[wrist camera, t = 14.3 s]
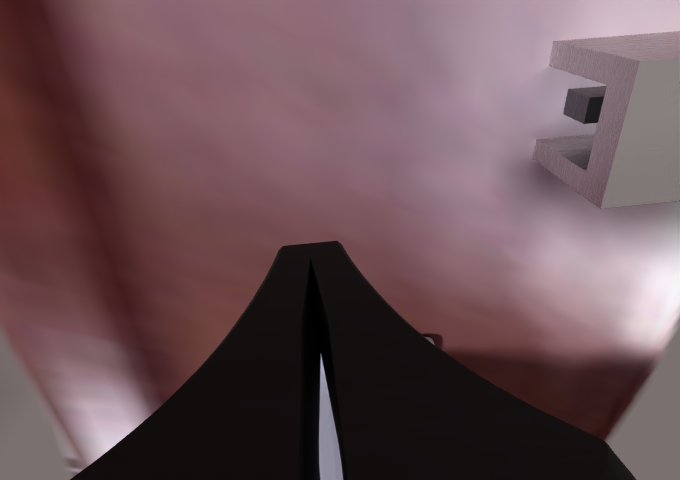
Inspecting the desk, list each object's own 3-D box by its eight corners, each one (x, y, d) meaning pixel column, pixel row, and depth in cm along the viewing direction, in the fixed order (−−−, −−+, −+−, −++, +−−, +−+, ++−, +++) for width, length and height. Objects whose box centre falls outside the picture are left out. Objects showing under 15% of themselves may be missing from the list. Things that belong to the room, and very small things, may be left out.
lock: (532, 159, 20) (600, 208, 15) (552, 41, 17) (640, 60, 13) (703, 142, 20) (816, 186, 16) (747, 25, 18) (895, 39, 13)
